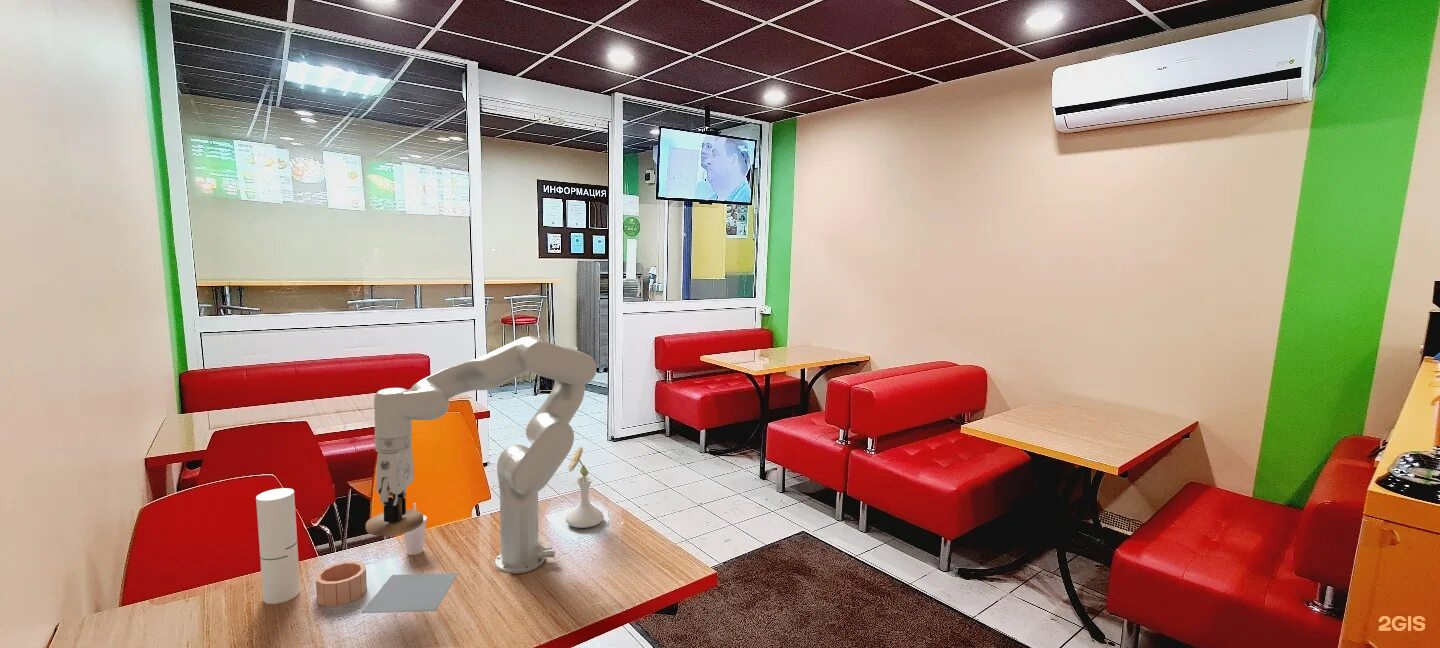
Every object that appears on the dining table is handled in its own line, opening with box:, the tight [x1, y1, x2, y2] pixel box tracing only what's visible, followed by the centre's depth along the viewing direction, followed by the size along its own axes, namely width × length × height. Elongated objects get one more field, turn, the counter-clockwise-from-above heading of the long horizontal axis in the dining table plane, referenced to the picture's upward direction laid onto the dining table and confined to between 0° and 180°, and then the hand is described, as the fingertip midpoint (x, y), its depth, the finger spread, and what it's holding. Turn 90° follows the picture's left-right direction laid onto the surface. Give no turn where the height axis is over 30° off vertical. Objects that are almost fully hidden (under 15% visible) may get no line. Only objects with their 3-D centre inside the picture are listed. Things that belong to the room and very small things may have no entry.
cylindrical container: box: [255, 487, 301, 605], centre depth 144 cm, size 7×7×25 cm
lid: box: [365, 497, 424, 537], centre depth 144 cm, size 12×12×6 cm
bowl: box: [315, 560, 368, 607], centre depth 145 cm, size 10×10×6 cm
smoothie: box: [403, 502, 428, 556], centre depth 165 cm, size 6×6×14 cm
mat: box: [361, 572, 459, 614], centre depth 147 cm, size 16×16×1 cm
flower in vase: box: [565, 446, 605, 529], centre depth 185 cm, size 13×11×25 cm
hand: (395, 517), depth 144 cm, fingers closed on lid, 3 cm apart
